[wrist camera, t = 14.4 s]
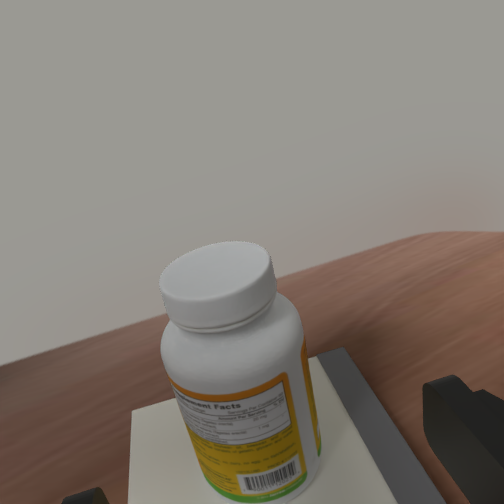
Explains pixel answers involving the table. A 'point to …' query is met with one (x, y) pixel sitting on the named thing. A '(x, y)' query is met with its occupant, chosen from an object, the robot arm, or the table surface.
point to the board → (332, 458)
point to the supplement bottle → (240, 373)
